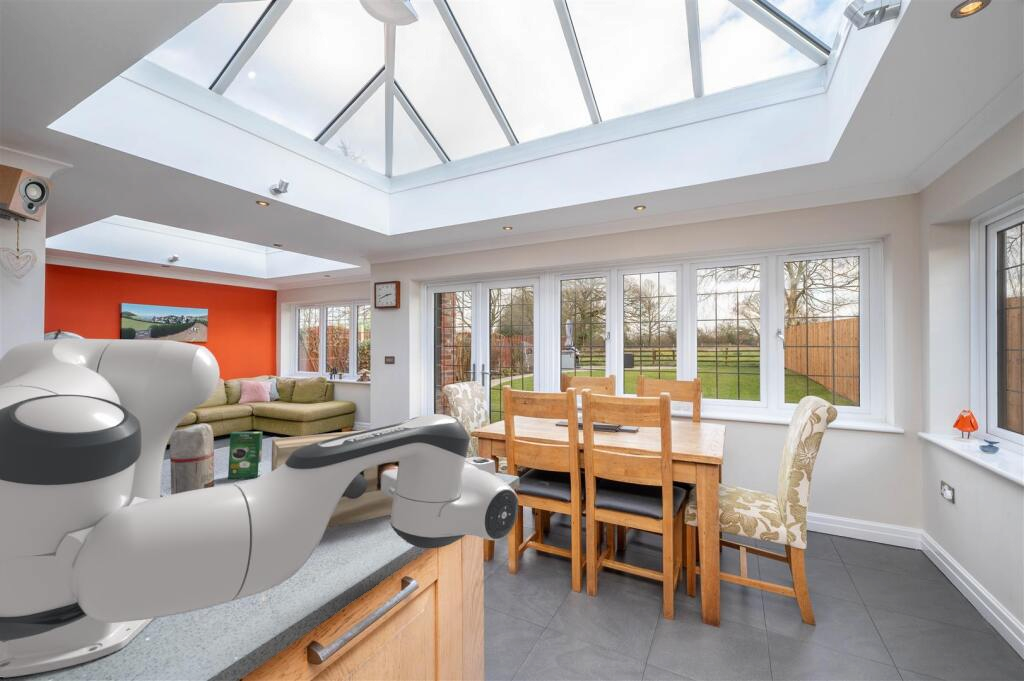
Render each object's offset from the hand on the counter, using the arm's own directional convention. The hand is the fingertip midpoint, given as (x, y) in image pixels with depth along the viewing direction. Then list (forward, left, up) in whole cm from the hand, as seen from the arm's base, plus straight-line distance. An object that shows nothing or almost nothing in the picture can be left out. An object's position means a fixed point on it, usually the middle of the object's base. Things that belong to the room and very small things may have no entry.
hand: (421, 466), depth 87 cm
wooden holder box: (+18, +15, -15) cm, 27 cm away
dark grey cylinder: (+12, +13, -8) cm, 19 cm away
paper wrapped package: (+30, +47, -15) cm, 57 cm away
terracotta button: (+14, +4, -8) cm, 17 cm away
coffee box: (+57, +42, -15) cm, 72 cm away
